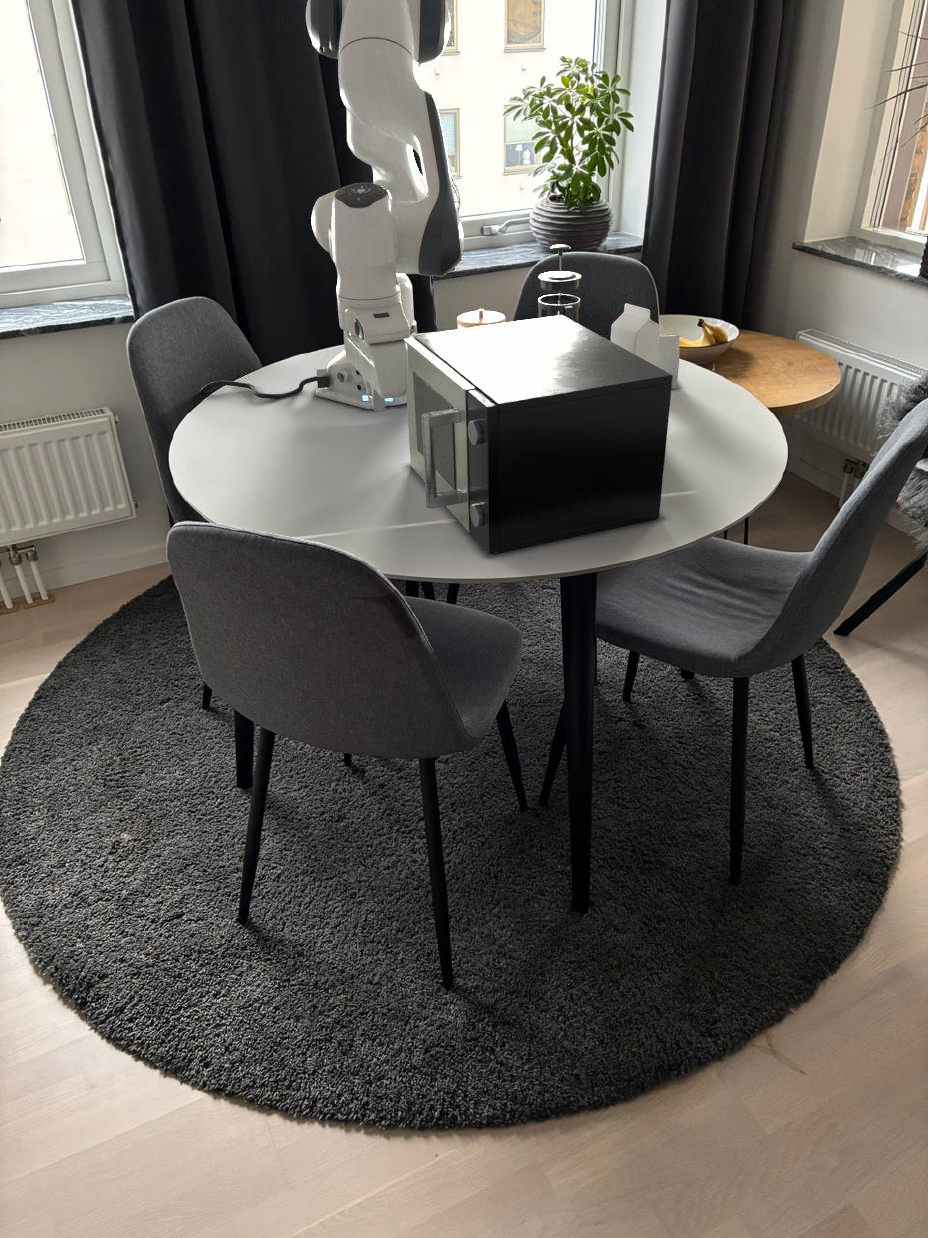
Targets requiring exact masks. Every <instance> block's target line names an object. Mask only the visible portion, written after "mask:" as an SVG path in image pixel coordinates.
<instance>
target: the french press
mask: <svg viewBox="0 0 928 1238" xmlns="http://www.w3.org/2000/svg"><path fill="white" fill-rule="evenodd" d="M550 249H551V250H553V251H557V255H558V257H559V261H558V262H559V265H558V271H557V270H556V271H547V272H544V273H540V274H539V275H538V279H539V280H540V288H541V289H543V290H546V291H549V292H550V291H551V292H558V293H557V294H547V295H543V296H541V297H539V298H538V300H537V301H538V302H537V303H538V304H537V307H538V312H537V313H538V314H537V315H538V318H543V311H547V317H551V316H556V312H557V316H558V315H563V316H565V317H567V318H569V319H570V320H572V321H574V322H576V323H578V324H580V307H581V298H580V297H578V296H576V295H572V294H563V293H561V292H568V291H573V290H576V289H578V288H579V285H580V283H579V281H580V280H581V278H582V275H581V274H579V273H577V272H574V271H564V270H563V271H562V257H563V255H564V251H567V250H570V249H571V246H570V245H568V244H555V245H552V246H550ZM561 301H563V302H571V303H568V304H561ZM556 302H557V304H556ZM560 312H562V313H560Z"/></svg>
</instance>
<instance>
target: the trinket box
mask: <svg viewBox="0 0 928 1238" xmlns="http://www.w3.org/2000/svg"><path fill="white" fill-rule="evenodd" d="M501 323H506V316H505V314H503V313H501V312H497V311H492V310H484V309H483V308H479V309H478V310H473V311H468V312H464V313H461V314H460V315H458V316H457V318H456V324H457V330H458V329H465V328H472V327H479V326H486V325H493V324H501Z"/></svg>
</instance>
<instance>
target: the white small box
mask: <svg viewBox="0 0 928 1238" xmlns="http://www.w3.org/2000/svg"><path fill="white" fill-rule="evenodd" d="M680 337H681V336H680V334H673V335H669V334H668V335H660V340H659V352H658V363H657V367H659V368H661V369H662V370H664V371H666V372H668V373H670V374H672V375H673V378H672V388H671V389H677V388H678V377H679V367H680V340H681V339H680Z"/></svg>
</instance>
